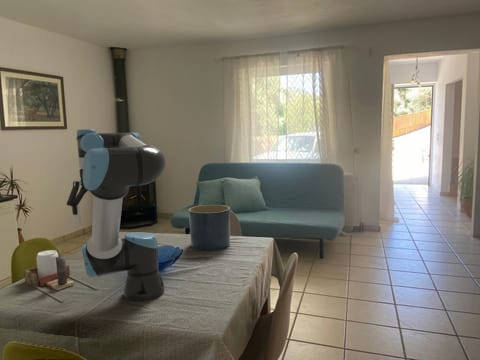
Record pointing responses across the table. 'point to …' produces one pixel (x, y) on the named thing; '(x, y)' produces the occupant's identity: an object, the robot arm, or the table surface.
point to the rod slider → (58, 276)
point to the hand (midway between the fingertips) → (93, 219)
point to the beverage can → (46, 263)
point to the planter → (209, 227)
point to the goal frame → (35, 275)
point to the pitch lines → (59, 298)
